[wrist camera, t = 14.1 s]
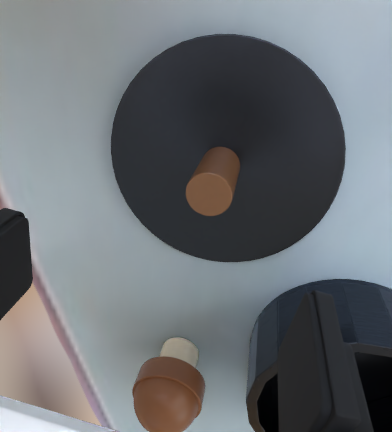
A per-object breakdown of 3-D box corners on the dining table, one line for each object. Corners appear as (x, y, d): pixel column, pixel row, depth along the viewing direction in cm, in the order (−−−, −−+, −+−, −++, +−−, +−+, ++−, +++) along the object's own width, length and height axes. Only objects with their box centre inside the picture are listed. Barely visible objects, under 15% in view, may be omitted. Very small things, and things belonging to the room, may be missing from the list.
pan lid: (109, 225, 29) (72, 268, 23) (126, 9, 21) (77, 0, 16) (296, 276, 27) (302, 334, 22) (386, 66, 20) (427, 77, 15)
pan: (234, 377, 34) (226, 445, 28) (280, 256, 27) (282, 315, 21) (384, 422, 33) (407, 503, 27) (475, 309, 26) (532, 386, 20)
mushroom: (147, 361, 35) (117, 439, 29) (155, 320, 33) (124, 395, 26) (204, 379, 35) (187, 462, 28) (217, 338, 32) (202, 419, 25)
